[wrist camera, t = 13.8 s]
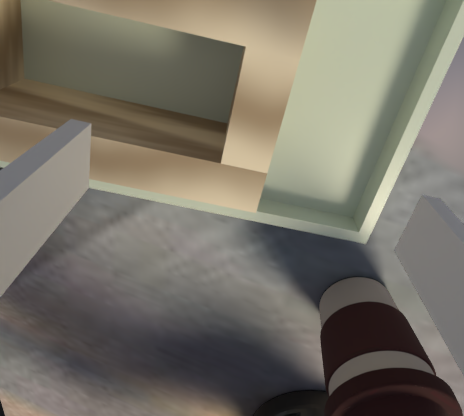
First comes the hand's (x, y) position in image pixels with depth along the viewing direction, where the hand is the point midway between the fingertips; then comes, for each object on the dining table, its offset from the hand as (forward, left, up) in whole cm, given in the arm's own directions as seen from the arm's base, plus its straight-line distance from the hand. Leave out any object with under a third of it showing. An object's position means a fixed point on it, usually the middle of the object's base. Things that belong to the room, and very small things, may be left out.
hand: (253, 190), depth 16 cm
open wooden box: (0, +9, -17) cm, 19 cm away
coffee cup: (-19, -15, -18) cm, 30 cm away
